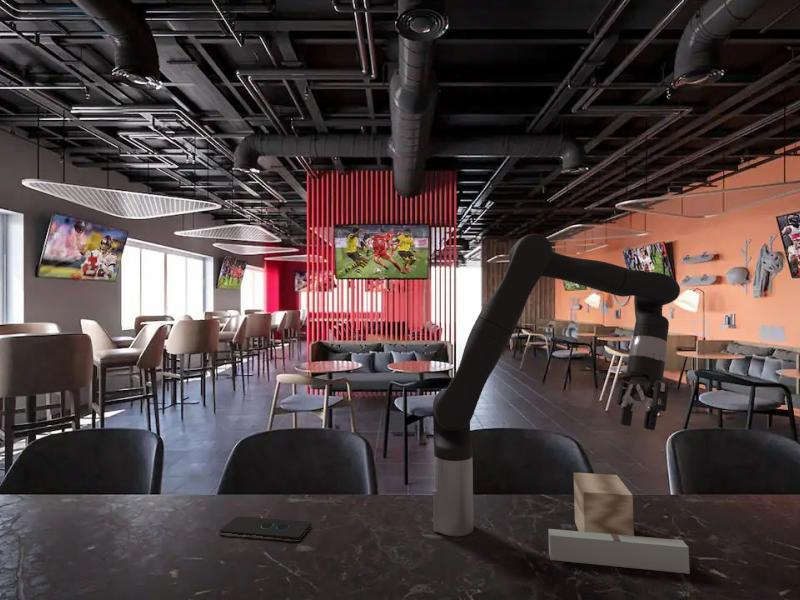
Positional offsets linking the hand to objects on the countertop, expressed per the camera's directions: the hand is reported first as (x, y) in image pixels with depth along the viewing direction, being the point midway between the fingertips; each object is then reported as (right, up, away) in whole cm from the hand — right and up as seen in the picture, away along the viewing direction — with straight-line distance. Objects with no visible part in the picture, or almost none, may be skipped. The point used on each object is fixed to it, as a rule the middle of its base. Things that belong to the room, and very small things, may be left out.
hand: (636, 427), depth 102 cm
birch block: (-7, -26, +2) cm, 27 cm away
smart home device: (-86, -27, +6) cm, 90 cm away
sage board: (-9, -25, -10) cm, 28 cm away
